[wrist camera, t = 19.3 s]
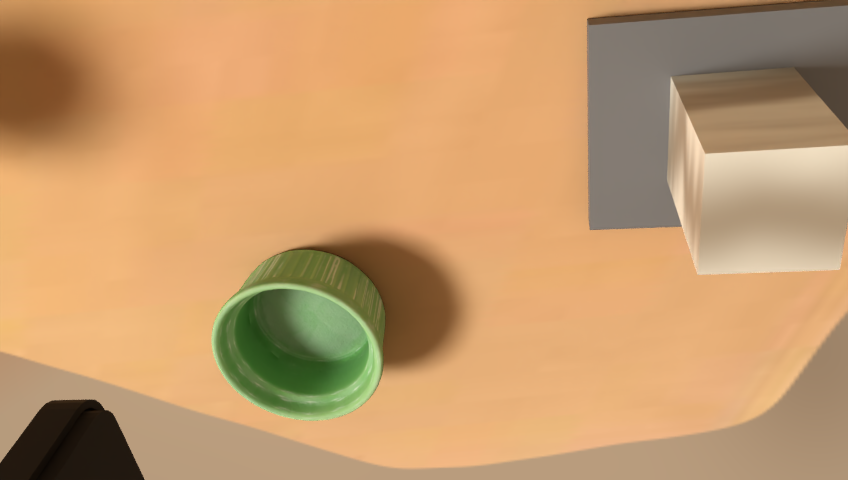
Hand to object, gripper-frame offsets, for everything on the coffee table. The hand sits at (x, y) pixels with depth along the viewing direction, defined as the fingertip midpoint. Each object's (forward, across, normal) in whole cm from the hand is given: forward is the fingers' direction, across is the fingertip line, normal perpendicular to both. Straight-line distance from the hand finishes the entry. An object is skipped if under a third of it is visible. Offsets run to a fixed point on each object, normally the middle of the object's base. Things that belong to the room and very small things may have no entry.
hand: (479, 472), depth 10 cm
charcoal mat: (+28, -8, +8) cm, 30 cm away
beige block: (+27, -8, +8) cm, 29 cm away
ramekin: (+28, +13, +18) cm, 35 cm away
